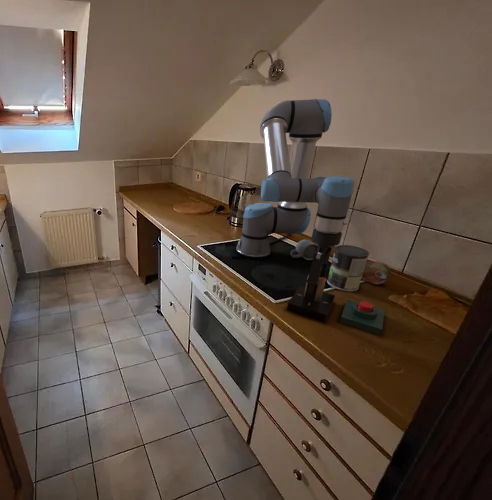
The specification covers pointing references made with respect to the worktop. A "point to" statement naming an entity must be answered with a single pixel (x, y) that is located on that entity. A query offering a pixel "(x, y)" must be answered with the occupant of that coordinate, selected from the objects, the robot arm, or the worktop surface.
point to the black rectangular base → (311, 305)
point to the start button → (365, 306)
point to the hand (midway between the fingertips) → (313, 293)
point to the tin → (376, 272)
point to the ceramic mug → (304, 250)
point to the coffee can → (347, 267)
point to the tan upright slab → (318, 289)
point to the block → (363, 317)
